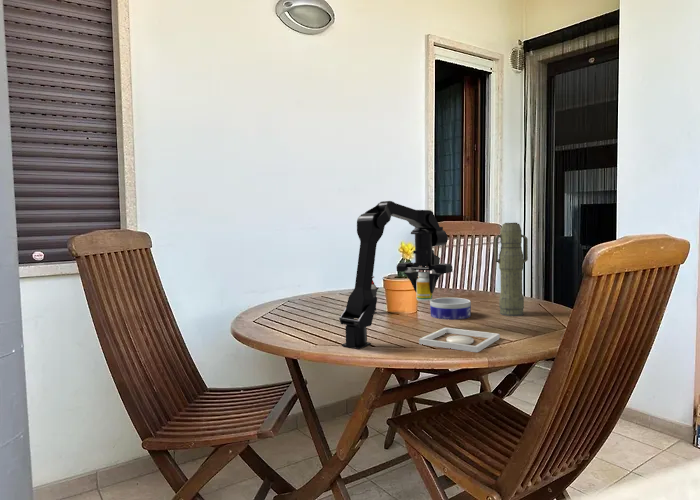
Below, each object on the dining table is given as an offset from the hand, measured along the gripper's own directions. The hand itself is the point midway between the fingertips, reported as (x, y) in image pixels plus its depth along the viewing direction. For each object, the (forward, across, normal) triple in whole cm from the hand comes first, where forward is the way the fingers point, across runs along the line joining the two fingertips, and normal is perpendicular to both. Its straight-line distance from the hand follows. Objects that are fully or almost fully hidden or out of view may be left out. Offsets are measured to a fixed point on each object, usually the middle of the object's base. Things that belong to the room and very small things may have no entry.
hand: (424, 292), depth 162 cm
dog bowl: (+12, +1, -23) cm, 26 cm away
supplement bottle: (+3, 0, 0) cm, 3 cm away
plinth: (+12, -18, +12) cm, 25 cm away
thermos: (+12, -18, -37) cm, 43 cm away
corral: (+12, -18, +12) cm, 25 cm away
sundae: (+12, +31, -13) cm, 36 cm away
